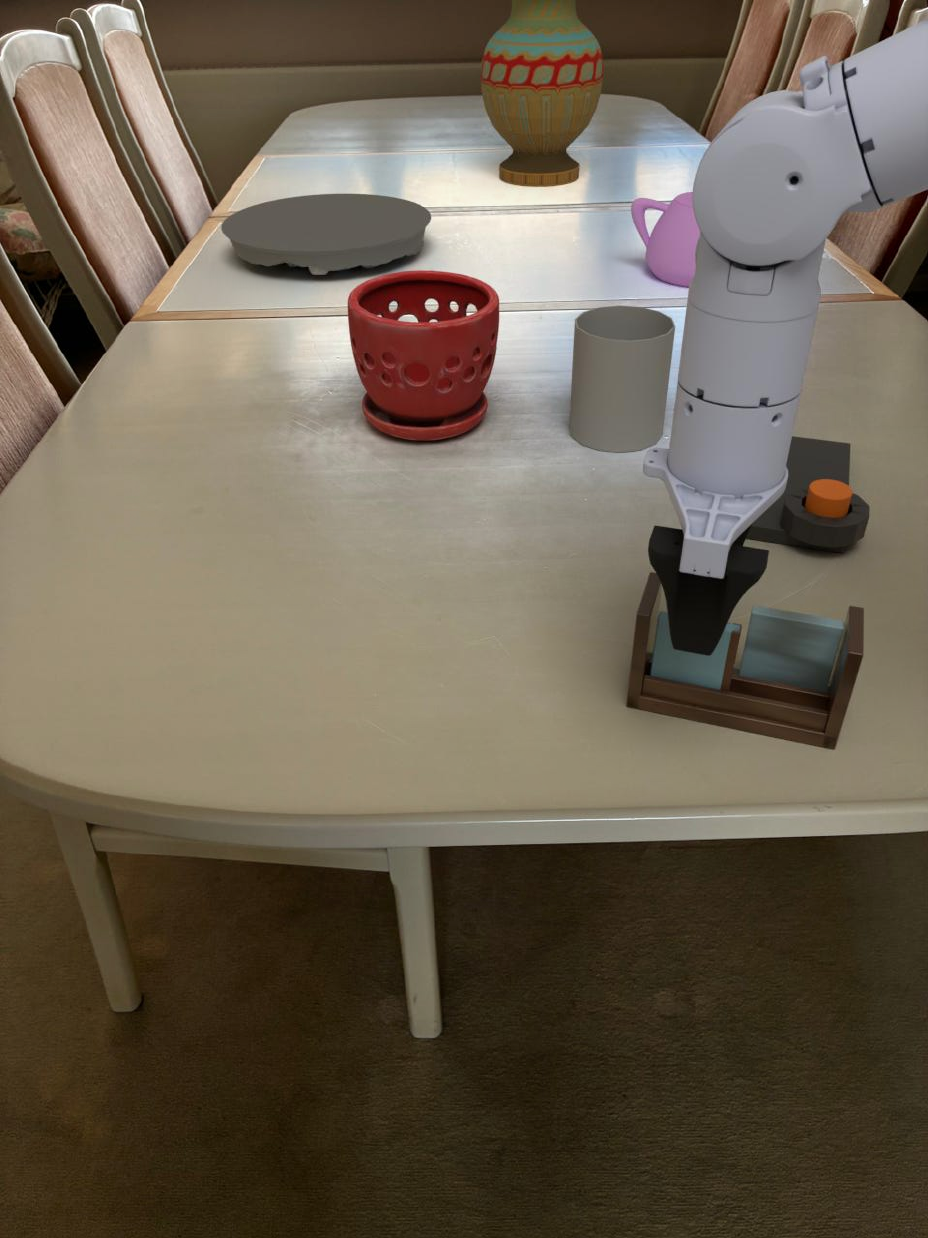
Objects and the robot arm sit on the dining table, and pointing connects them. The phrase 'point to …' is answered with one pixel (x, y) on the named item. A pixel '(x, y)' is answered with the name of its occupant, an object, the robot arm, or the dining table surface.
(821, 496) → the button
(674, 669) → the pane
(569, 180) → the vase
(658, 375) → the cup
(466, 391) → the flower pot
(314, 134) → the dining table surface
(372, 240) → the flat disc
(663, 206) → the teapot
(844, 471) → the button block
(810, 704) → the brown wooden rack
